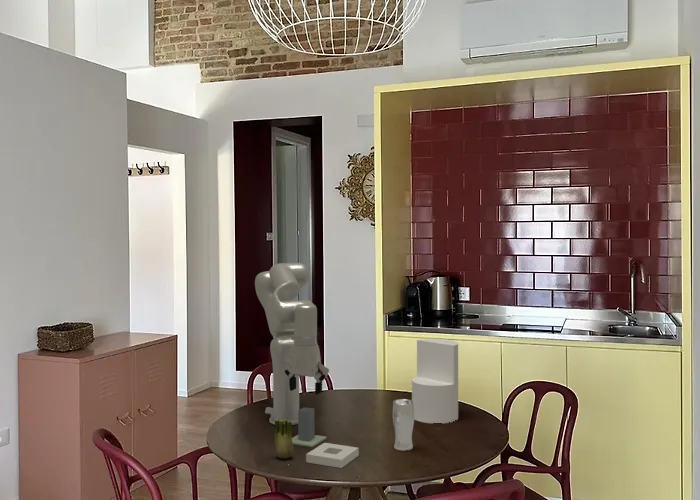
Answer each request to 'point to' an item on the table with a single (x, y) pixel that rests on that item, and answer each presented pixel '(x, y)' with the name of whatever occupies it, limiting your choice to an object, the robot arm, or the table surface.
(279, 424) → the fennel bulb
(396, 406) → the beer glass
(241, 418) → the table surface
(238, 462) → the table surface
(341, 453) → the white square hole board
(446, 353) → the grey stepped cylindrical piece
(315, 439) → the sage mat
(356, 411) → the table surface
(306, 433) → the slate plug
